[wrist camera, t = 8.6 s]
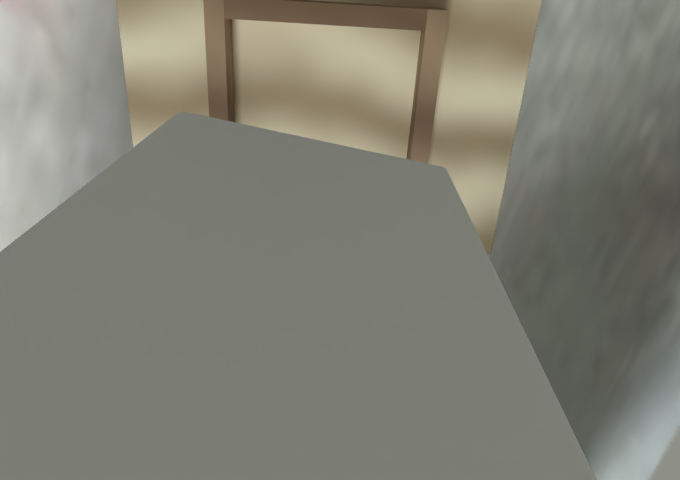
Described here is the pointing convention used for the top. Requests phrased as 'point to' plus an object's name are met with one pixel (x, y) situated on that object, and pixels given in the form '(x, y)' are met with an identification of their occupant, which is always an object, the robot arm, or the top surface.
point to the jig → (344, 77)
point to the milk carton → (267, 324)
